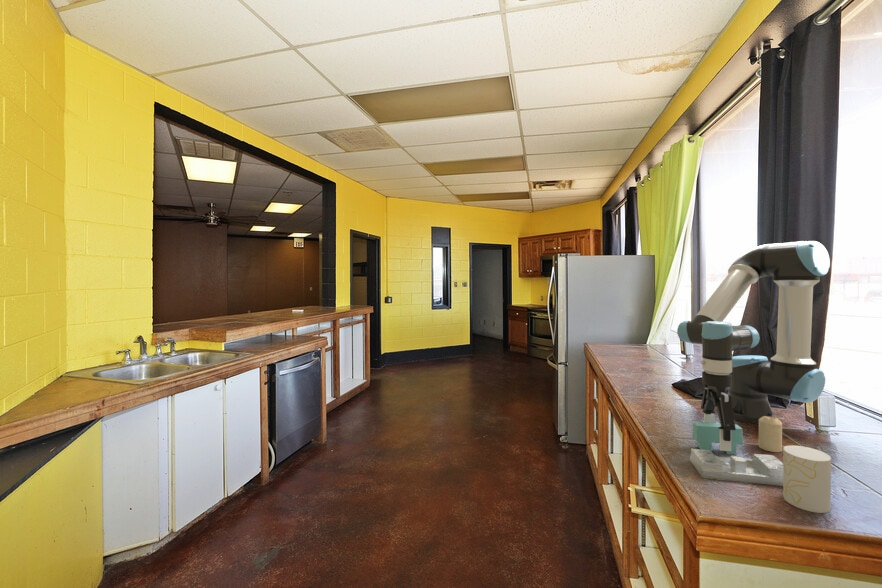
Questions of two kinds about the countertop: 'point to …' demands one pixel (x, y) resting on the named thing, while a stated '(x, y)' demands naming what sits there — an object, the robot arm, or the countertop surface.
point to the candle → (770, 434)
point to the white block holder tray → (738, 467)
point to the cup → (807, 478)
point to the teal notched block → (715, 436)
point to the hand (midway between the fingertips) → (716, 441)
